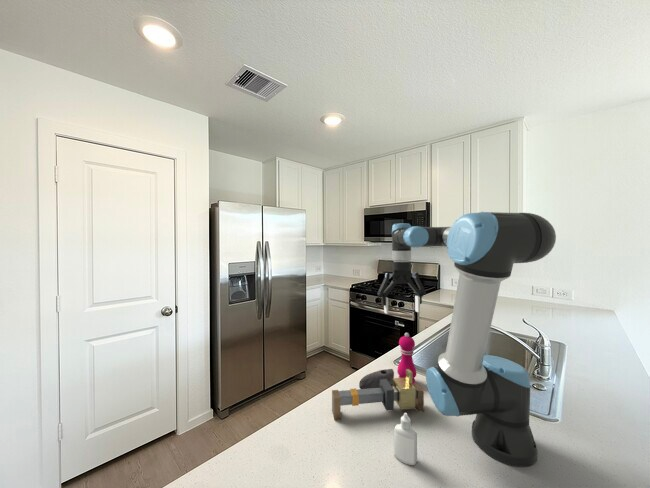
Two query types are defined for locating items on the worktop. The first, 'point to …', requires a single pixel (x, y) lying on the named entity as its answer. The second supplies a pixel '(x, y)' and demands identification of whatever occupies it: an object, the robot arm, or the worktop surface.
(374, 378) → the perforated stone tool
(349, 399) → the bar clamp
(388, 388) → the ring
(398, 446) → the eye dropper bottle
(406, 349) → the pepper mill
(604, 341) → the worktop surface
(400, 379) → the sleeve
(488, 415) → the robot arm
